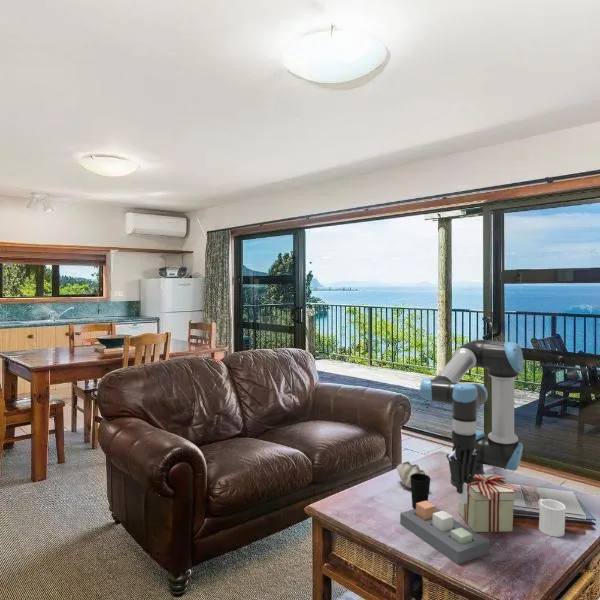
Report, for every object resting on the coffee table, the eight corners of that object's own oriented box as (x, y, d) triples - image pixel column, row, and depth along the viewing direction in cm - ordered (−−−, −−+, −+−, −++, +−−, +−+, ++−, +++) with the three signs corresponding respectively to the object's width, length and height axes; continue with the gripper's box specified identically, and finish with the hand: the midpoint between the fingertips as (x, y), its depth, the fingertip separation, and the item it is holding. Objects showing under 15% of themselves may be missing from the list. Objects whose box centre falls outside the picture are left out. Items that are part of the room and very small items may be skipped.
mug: (548, 519, 181) (549, 493, 180) (569, 536, 169) (570, 509, 168) (527, 520, 180) (528, 494, 179) (548, 537, 168) (549, 510, 167)
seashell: (414, 479, 215) (415, 457, 215) (431, 494, 201) (432, 470, 200) (393, 481, 213) (393, 459, 212) (409, 496, 198) (410, 472, 198)
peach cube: (425, 513, 178) (426, 500, 178) (435, 519, 174) (435, 506, 173) (415, 516, 176) (416, 503, 175) (425, 522, 171) (425, 508, 171)
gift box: (479, 539, 167) (481, 490, 166) (454, 513, 185) (455, 469, 184) (524, 535, 169) (526, 487, 168) (495, 510, 188) (496, 466, 187)
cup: (430, 513, 185) (431, 482, 184) (409, 510, 186) (410, 480, 186) (429, 503, 192) (429, 474, 192) (409, 501, 194) (410, 472, 193)
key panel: (429, 515, 183) (429, 504, 183) (489, 553, 158) (489, 541, 158) (400, 523, 176) (400, 512, 176) (457, 564, 152) (458, 552, 151)
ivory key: (442, 524, 170) (443, 510, 170) (452, 530, 166) (453, 516, 166) (432, 527, 168) (432, 513, 168) (442, 534, 164) (442, 519, 164)
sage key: (460, 541, 163) (461, 527, 163) (471, 549, 159) (472, 534, 158) (450, 545, 161) (450, 530, 160) (461, 552, 157) (461, 537, 156)
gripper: (469, 425, 164) (467, 493, 165) (440, 431, 158) (439, 501, 159) (487, 432, 158) (485, 502, 159) (458, 438, 152) (456, 511, 153)
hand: (462, 501), depth 159 cm, fingers closed
